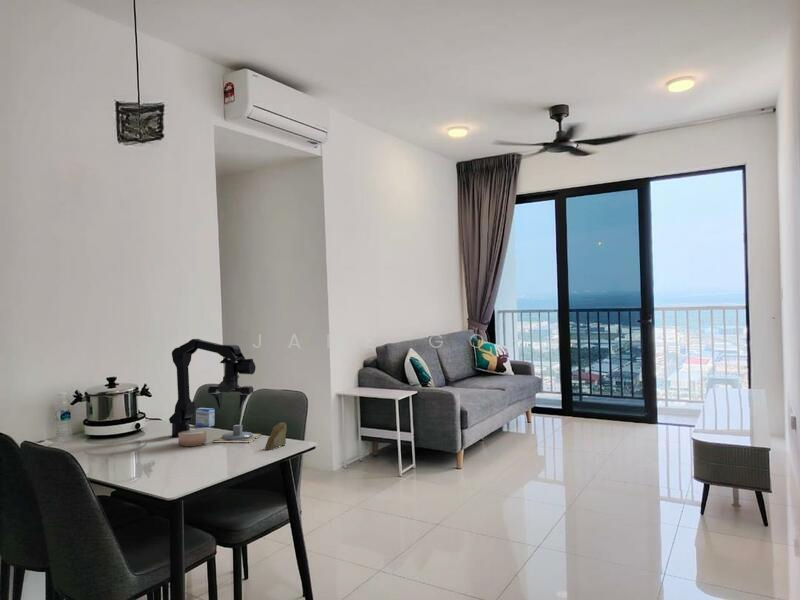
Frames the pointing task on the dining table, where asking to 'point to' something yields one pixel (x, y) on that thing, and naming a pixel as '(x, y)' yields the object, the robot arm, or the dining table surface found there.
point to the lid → (237, 434)
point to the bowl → (192, 437)
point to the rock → (277, 436)
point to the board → (237, 440)
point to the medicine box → (205, 417)
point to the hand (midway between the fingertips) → (230, 409)
